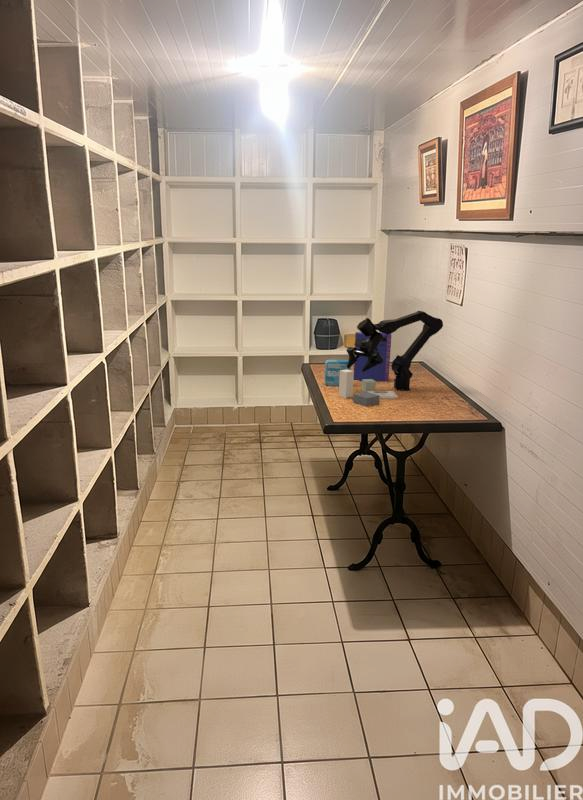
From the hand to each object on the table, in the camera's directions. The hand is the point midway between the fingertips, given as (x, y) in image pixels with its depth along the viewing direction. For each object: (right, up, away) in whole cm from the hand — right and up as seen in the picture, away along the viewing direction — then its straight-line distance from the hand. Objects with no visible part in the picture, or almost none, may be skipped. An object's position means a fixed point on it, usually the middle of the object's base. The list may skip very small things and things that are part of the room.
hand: (355, 369), depth 274 cm
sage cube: (+8, -9, +11) cm, 17 cm away
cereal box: (+11, -4, +33) cm, 35 cm away
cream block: (-4, -12, -1) cm, 13 cm away
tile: (+12, -12, +2) cm, 17 cm away
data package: (-7, -7, +22) cm, 24 cm away
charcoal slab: (+4, -15, -10) cm, 19 cm away
